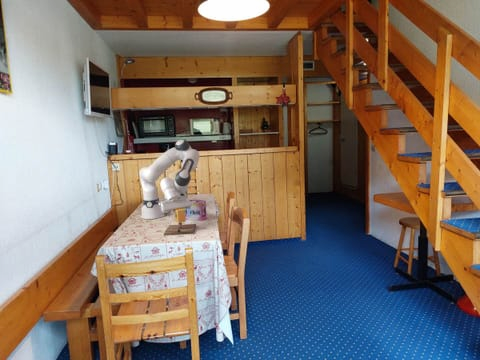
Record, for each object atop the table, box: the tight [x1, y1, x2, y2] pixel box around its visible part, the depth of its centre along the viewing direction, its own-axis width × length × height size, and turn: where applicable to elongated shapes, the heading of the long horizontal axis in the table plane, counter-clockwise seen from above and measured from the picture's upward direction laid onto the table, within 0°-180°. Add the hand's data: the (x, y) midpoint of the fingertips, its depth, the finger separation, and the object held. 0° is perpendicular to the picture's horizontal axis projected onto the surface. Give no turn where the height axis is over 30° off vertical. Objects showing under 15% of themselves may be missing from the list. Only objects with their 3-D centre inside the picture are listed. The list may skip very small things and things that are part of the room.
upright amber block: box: [173, 208, 187, 224], centre depth 207 cm, size 5×5×8 cm
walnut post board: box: [163, 222, 197, 236], centre depth 208 cm, size 18×18×7 cm
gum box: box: [185, 199, 208, 222], centre depth 237 cm, size 24×8×14 cm, turn 67°
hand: (180, 215), depth 206 cm, fingers closed on upright amber block, 5 cm apart
